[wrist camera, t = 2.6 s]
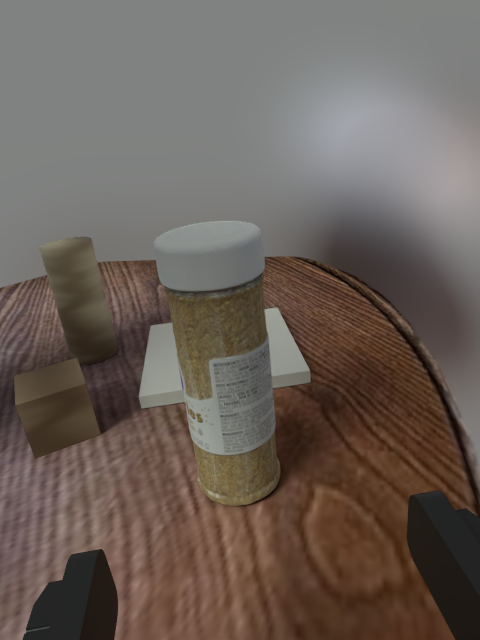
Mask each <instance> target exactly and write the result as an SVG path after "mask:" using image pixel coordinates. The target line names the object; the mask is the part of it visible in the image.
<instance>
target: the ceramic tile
mask: <svg viewBox="0 0 480 640" xmlns="http://www.w3.org/2000/svg"><path fill="white" fill-rule="evenodd" d="M265 317H266V328H267V332H268V336H269V348H270V360H271V372H272V384H273V388H279V387H285V386H292V385H298V384H305V383H311V381H310V369H309V368H308V366H307V364H306V362H305V360H304V358H303V356H302V354H301V352H300V350H299V348H298V346H297V345H296V343H295V341H294V339H293V337H292V335H291V333H290V331H289V329H288V327H287V325H286V323H285V321H284V320H283V318H282V316H281V314H280V312H279V310H278V308H270V309H265ZM172 325H173V324H172V323H165V324H158V325H151V327H150V333H149V339H148V344H147V350H146V356H145V362H144V368H143V374H142V380H141V386H140V392H139V400H140V404H141V409H143V408H149V407H156V406H162V405H169V404H175V403H182V402H185V400H184V395H183V389H182V383H181V378H180V371H179V366H178V360H177V348H176V343H175V337H174V333H173V326H172Z"/></svg>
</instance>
